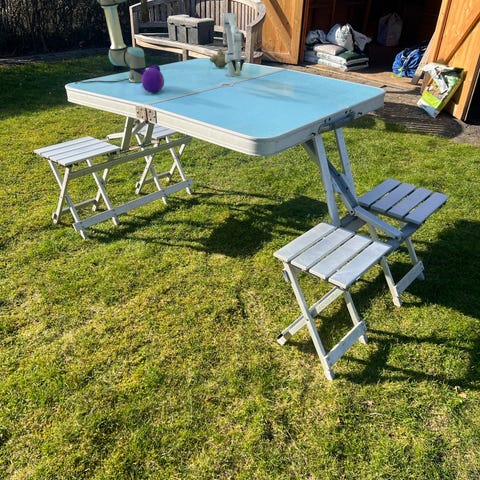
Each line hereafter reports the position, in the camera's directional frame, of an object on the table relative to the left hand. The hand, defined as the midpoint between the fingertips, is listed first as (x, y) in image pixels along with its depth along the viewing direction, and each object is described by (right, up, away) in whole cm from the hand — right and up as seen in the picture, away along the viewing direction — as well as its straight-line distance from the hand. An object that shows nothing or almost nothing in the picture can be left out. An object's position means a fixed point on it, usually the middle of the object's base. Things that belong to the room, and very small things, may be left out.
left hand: (146, 22), depth 360 cm
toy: (+14, -73, -52) cm, 91 cm away
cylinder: (+74, -50, -25) cm, 92 cm away
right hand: (+74, -48, -26) cm, 92 cm away
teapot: (+59, -27, +23) cm, 69 cm away
